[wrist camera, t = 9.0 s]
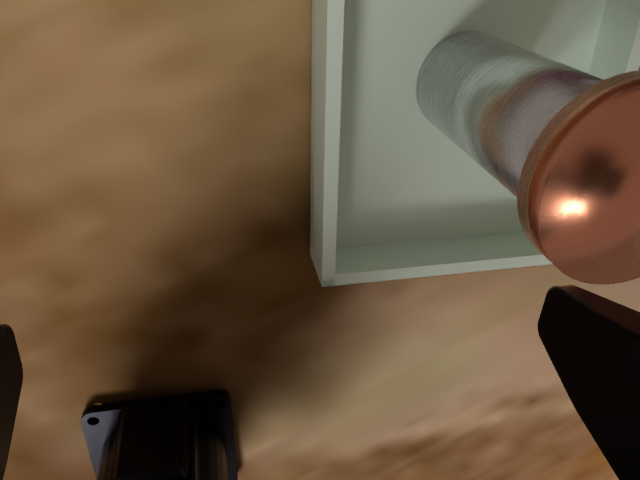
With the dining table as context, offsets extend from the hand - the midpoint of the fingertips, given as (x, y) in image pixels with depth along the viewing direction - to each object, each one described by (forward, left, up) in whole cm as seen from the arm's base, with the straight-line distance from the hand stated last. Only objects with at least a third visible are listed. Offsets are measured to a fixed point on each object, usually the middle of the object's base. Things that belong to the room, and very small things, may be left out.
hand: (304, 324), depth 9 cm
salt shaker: (+1, -8, -12) cm, 14 cm away
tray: (+1, -8, -12) cm, 15 cm away
